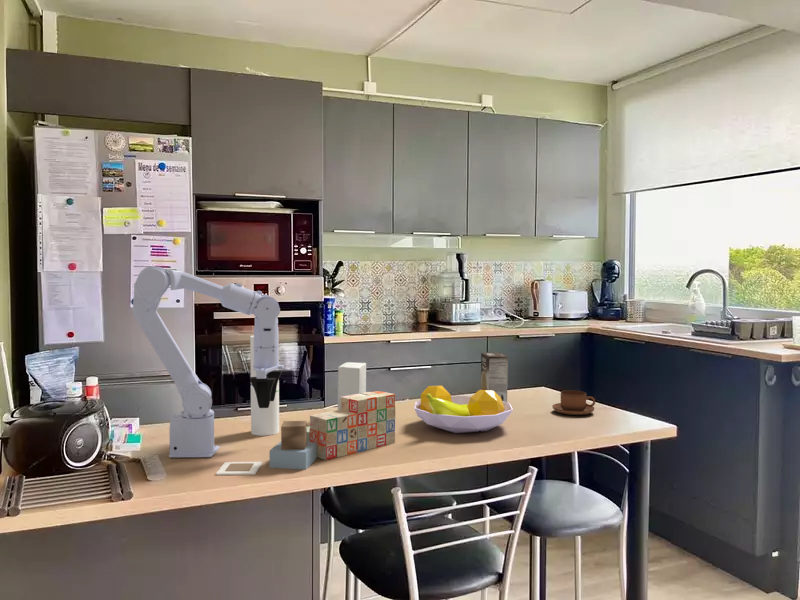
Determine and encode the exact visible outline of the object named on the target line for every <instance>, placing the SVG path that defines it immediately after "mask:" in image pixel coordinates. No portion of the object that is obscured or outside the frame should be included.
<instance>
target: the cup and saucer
mask: <svg viewBox="0 0 800 600" xmlns="http://www.w3.org/2000/svg"><path fill="white" fill-rule="evenodd" d="M587 400H592V403H591V404H589V403H587ZM595 404H596V399H595V398H594V397H593V396H587V392H585V391H581V390H573V389H572V390H563V391H560V402H558V403H553V404H552V409H553V410H554V411H555V412H557V413H559V414H561V415H562V414H563V415H567V416H583V415H584V416H585V415H589V414H591V413H593V412H594V411H595V407H594V406H595Z"/></svg>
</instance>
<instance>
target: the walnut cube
mask: <svg viewBox="0 0 800 600" xmlns="http://www.w3.org/2000/svg"><path fill="white" fill-rule="evenodd" d="M307 427H308V426H307V420H284V421H283V422H282V424H281V426H280V431H281V432H280V433H281V434H280V435H281V437H280V438H281V439H280V442H281V450H298V449H305V447H306V443H307Z"/></svg>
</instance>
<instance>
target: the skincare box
mask: <svg viewBox="0 0 800 600" xmlns="http://www.w3.org/2000/svg"><path fill="white" fill-rule="evenodd" d="M337 369H338V370H337V372H338V373H337V410H340V404H341V397H343V396H349V395H354V394H360V393H364V392H367V362H353V361H352V362H351V361H349V362H344V363H343V364H341V365H339V366H338V367H337Z"/></svg>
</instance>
